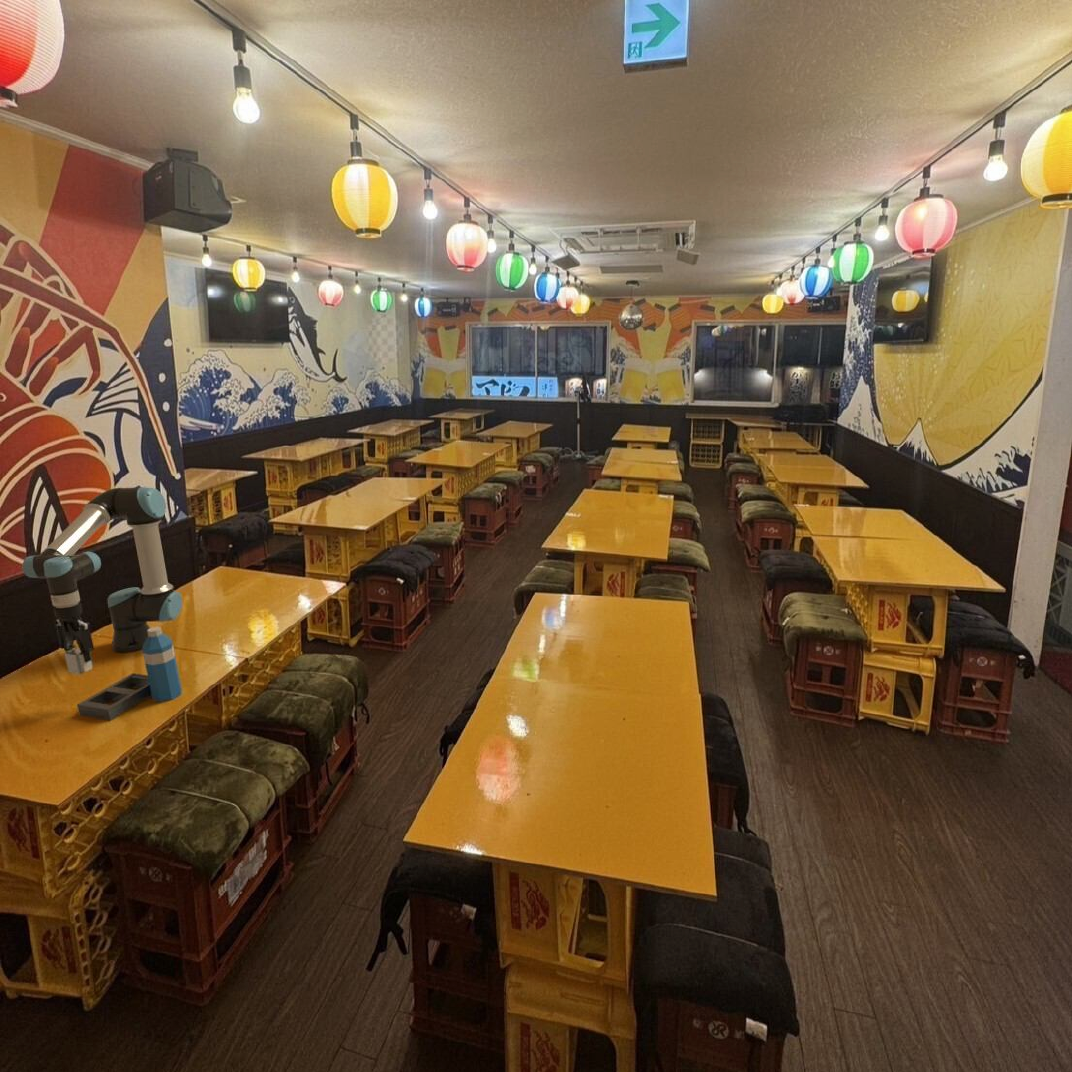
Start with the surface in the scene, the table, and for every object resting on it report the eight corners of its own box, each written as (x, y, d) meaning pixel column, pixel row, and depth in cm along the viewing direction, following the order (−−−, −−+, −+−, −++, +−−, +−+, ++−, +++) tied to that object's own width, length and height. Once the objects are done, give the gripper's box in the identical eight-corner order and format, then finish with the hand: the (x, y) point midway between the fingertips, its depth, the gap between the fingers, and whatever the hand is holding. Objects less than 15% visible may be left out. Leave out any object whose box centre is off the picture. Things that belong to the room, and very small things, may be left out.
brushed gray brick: (82, 666, 230) (78, 647, 228) (93, 667, 228) (89, 648, 226) (68, 672, 225) (64, 653, 223) (79, 674, 223) (75, 655, 222)
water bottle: (177, 685, 241) (164, 621, 234) (186, 694, 235) (173, 628, 228) (148, 695, 235) (134, 629, 228) (157, 705, 229) (143, 637, 222)
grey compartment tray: (134, 683, 244) (132, 673, 243) (163, 687, 240) (161, 677, 239) (79, 715, 224) (77, 704, 223) (110, 720, 220) (108, 709, 219)
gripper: (35, 605, 220) (51, 670, 226) (76, 611, 214) (91, 677, 220) (57, 597, 226) (72, 660, 233) (97, 602, 221) (111, 667, 227)
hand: (81, 668), depth 227 cm, fingers closed on brushed gray brick, 5 cm apart
